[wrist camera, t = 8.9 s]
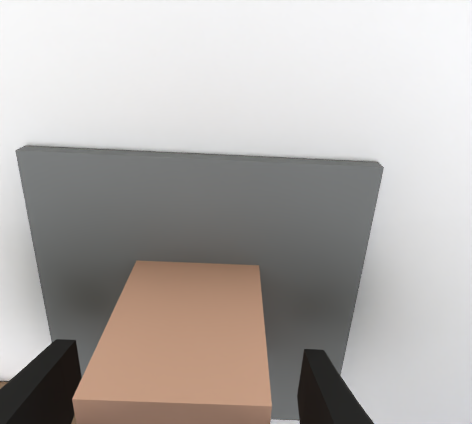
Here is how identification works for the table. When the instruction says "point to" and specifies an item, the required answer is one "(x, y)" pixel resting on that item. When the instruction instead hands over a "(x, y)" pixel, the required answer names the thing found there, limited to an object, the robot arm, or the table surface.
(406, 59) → the table surface
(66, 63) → the table surface
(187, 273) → the block
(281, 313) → the rubber mat
